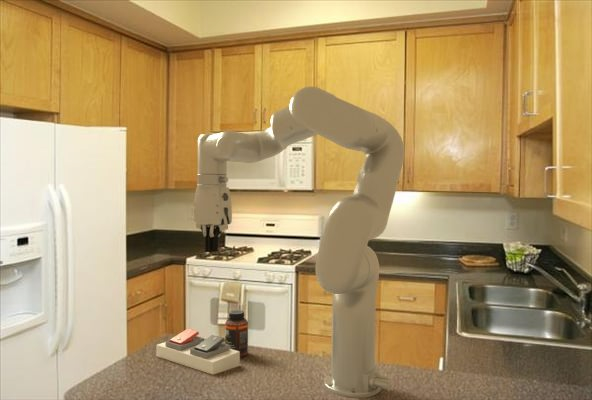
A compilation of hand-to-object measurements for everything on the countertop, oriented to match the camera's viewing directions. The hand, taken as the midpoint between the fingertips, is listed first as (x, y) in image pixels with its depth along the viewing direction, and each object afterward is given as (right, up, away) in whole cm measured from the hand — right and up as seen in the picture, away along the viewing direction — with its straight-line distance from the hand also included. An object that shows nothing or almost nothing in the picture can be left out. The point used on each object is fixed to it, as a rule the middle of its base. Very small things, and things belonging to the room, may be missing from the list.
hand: (211, 251), depth 121 cm
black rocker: (+1, -22, -9) cm, 24 cm away
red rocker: (-6, -22, -4) cm, 23 cm away
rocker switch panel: (-2, -27, -7) cm, 28 cm away
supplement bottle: (+7, -27, 0) cm, 28 cm away
